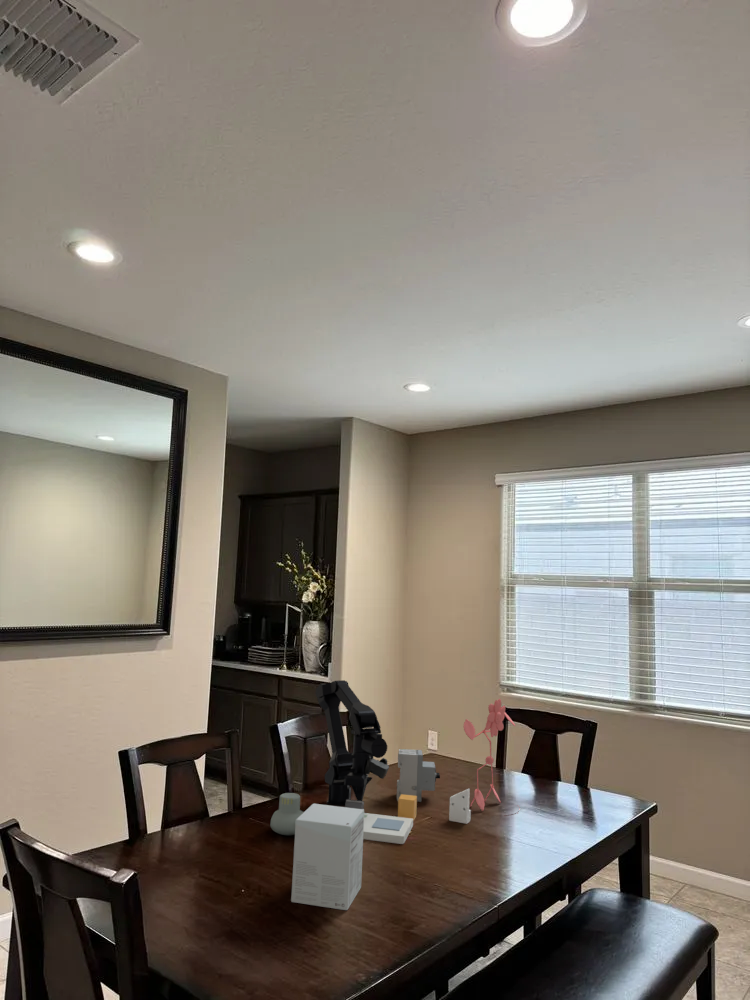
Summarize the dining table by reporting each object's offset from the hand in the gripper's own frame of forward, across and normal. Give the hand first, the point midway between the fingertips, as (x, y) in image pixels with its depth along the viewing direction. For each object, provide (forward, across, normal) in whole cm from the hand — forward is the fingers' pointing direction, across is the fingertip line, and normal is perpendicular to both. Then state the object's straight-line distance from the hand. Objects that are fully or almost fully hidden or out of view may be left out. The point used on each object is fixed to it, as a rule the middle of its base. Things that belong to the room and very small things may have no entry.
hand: (359, 802), depth 213 cm
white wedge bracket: (+4, +6, -30) cm, 31 cm away
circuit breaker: (+4, +24, -14) cm, 28 cm away
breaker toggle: (+1, -7, 0) cm, 7 cm away
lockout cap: (+4, +3, -14) cm, 15 cm away
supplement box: (+4, -57, -7) cm, 58 cm away
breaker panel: (+4, -12, -8) cm, 15 cm away
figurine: (+4, +22, -40) cm, 46 cm away
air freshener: (+4, -22, +16) cm, 27 cm away
